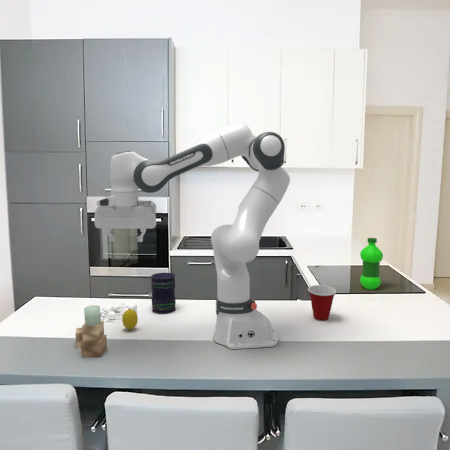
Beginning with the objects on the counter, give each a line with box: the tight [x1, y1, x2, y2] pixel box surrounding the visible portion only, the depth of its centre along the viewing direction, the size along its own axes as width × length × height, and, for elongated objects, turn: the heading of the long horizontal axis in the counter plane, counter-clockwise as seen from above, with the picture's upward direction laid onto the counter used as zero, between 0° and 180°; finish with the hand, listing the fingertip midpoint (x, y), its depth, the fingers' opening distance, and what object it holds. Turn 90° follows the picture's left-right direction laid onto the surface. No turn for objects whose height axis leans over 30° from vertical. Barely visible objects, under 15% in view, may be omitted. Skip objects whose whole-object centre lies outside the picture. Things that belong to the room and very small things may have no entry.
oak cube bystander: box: [75, 327, 83, 349], centre depth 137 cm, size 5×5×5 cm
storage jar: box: [150, 272, 176, 315], centre depth 171 cm, size 10×10×15 cm
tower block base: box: [80, 334, 108, 358], centre depth 130 cm, size 6×6×5 cm
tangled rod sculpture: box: [100, 302, 138, 320], centre depth 165 cm, size 19×14×4 cm
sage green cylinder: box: [83, 305, 102, 326], centre depth 129 cm, size 5×5×5 cm
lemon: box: [121, 308, 139, 331], centre depth 150 cm, size 6×6×8 cm
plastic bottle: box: [359, 237, 384, 291], centre depth 202 cm, size 10×10×25 cm
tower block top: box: [81, 320, 105, 342], centre depth 130 cm, size 5×5×5 cm
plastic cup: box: [307, 284, 337, 321], centre depth 161 cm, size 11×11×12 cm
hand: (126, 241), depth 138 cm, fingers open, 8 cm apart
